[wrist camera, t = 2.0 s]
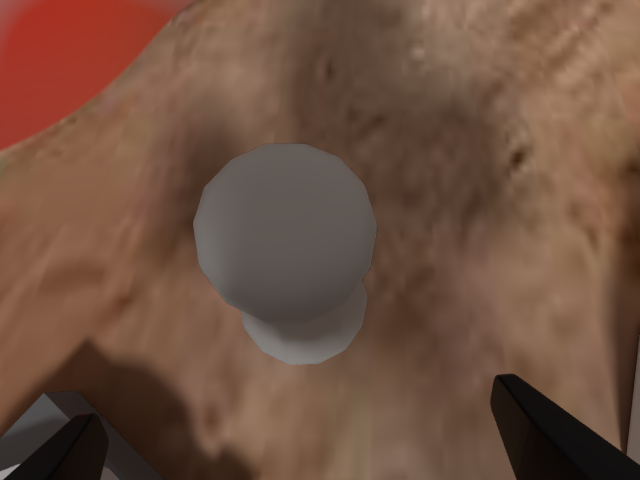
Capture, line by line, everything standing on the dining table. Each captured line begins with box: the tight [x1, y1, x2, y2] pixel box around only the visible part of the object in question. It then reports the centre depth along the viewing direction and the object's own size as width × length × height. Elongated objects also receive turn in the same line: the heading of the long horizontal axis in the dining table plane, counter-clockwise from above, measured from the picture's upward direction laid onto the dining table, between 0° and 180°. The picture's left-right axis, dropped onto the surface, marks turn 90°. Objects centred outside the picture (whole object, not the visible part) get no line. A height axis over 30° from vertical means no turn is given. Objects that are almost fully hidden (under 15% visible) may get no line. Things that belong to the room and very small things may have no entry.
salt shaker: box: [193, 144, 377, 364], centre depth 15 cm, size 6×6×13 cm
